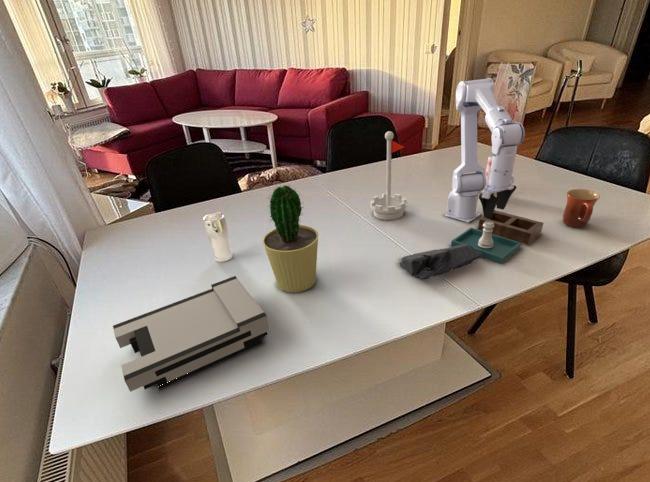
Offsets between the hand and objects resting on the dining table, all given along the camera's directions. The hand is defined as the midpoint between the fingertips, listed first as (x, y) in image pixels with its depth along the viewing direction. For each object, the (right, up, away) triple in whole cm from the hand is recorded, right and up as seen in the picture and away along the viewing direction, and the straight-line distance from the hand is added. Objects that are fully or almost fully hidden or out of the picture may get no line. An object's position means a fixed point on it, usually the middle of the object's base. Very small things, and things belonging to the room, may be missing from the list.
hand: (494, 213), depth 118 cm
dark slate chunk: (-17, -15, -3) cm, 23 cm away
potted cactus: (-59, -21, -2) cm, 63 cm away
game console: (-83, -36, -21) cm, 93 cm away
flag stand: (-26, +4, +30) cm, 40 cm away
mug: (+31, -3, +9) cm, 32 cm away
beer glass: (-84, -13, +14) cm, 86 cm away
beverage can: (+15, +12, +35) cm, 40 cm away
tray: (-1, -10, +4) cm, 11 cm away
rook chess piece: (-1, -10, +4) cm, 10 cm away
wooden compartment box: (+9, -5, +10) cm, 15 cm away
